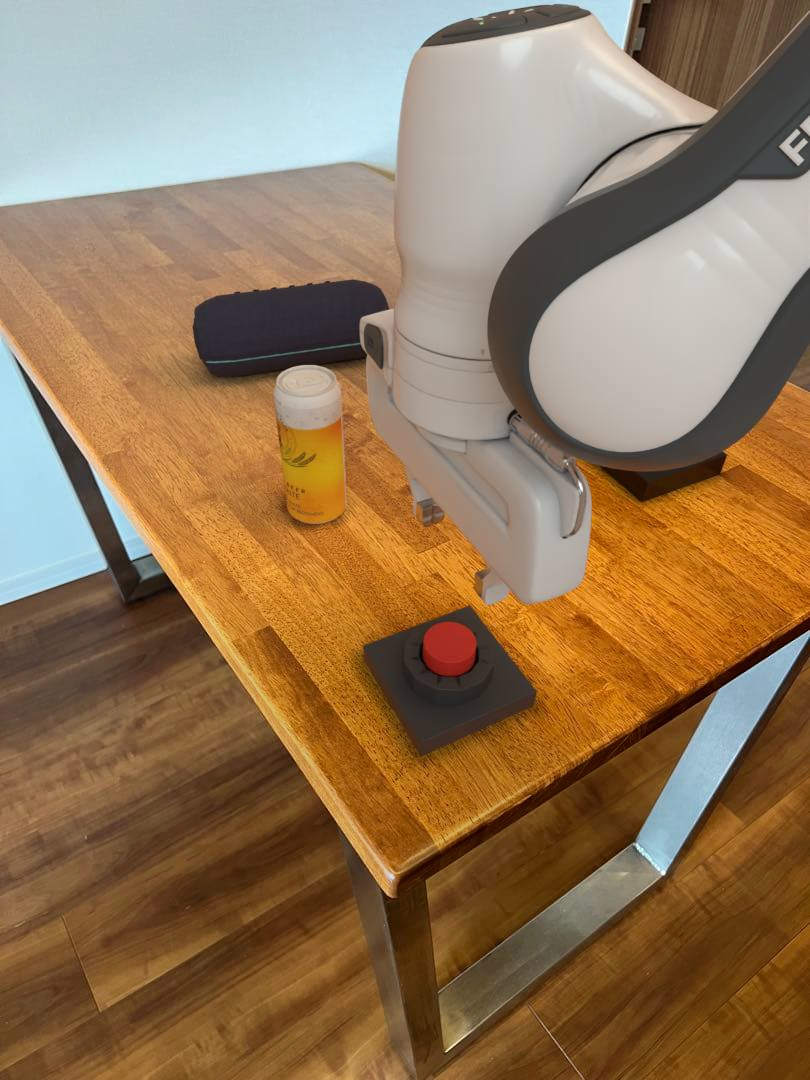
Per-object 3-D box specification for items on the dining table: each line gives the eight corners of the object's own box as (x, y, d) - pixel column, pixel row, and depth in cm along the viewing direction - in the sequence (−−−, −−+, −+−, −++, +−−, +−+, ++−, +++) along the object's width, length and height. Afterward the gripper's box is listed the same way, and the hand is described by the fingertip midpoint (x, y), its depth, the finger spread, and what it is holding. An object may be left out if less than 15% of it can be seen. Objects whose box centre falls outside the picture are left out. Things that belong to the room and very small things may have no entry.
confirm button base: (533, 708, 57) (540, 676, 54) (420, 759, 53) (422, 728, 51) (468, 622, 64) (471, 590, 61) (363, 662, 60) (362, 630, 57)
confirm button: (484, 665, 55) (486, 650, 54) (438, 684, 54) (439, 669, 53) (458, 629, 58) (459, 615, 57) (413, 647, 57) (414, 632, 56)
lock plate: (719, 477, 80) (728, 453, 78) (640, 505, 76) (648, 480, 74) (634, 415, 89) (640, 392, 87) (560, 437, 85) (565, 413, 83)
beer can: (281, 498, 76) (264, 368, 66) (337, 486, 78) (329, 358, 68) (296, 535, 72) (280, 402, 62) (355, 521, 73) (349, 390, 63)
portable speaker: (375, 334, 104) (374, 264, 97) (396, 367, 97) (397, 294, 90) (196, 358, 98) (182, 286, 91) (205, 395, 91) (191, 320, 84)
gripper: (645, 455, 34) (591, 646, 43) (435, 291, 48) (428, 464, 57) (533, 491, 32) (501, 684, 41) (346, 309, 45) (354, 485, 55)
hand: (457, 555), depth 49 cm, fingers open, 7 cm apart
